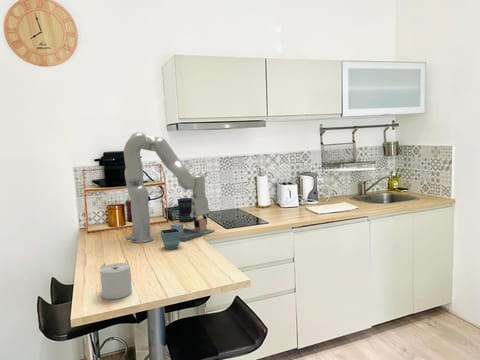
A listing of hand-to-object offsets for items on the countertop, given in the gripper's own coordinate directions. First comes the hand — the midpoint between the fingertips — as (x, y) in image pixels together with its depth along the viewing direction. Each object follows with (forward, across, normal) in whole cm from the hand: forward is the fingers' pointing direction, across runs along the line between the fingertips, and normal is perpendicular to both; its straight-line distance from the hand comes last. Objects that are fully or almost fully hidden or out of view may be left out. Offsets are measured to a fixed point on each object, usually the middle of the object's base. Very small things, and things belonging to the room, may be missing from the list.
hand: (200, 225), depth 229 cm
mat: (+4, 0, 0) cm, 4 cm away
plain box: (+3, -15, +4) cm, 16 cm away
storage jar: (+4, +14, +30) cm, 33 cm away
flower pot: (+4, -31, -11) cm, 33 cm away
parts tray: (+4, -13, 0) cm, 14 cm away
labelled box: (+3, 0, 0) cm, 3 cm away
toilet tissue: (+4, -80, -40) cm, 90 cm away
